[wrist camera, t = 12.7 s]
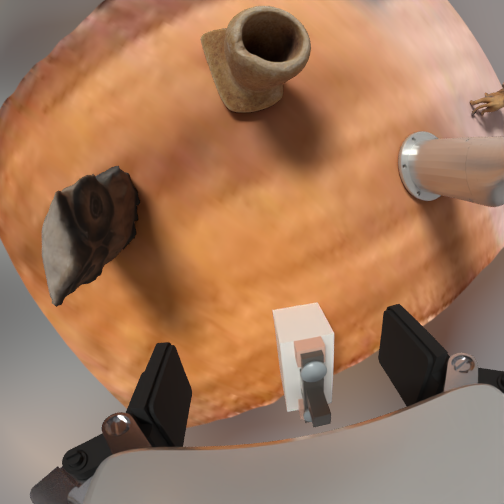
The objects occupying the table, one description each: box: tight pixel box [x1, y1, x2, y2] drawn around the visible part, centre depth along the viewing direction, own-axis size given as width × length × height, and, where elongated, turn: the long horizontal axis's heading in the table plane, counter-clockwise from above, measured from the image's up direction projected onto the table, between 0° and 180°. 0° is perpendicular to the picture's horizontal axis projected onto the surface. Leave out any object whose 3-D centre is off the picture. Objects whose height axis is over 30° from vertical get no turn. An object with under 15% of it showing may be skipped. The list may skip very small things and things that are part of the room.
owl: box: [42, 166, 140, 307], centre depth 31 cm, size 13×13×20 cm
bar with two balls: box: [300, 350, 331, 427], centre depth 35 cm, size 4×15×9 cm, turn 9°
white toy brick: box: [273, 302, 334, 420], centre depth 43 cm, size 8×16×12 cm, turn 8°
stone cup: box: [201, 6, 311, 112], centre depth 28 cm, size 15×12×15 cm
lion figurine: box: [470, 82, 504, 115], centre depth 31 cm, size 15×5×9 cm, turn 130°
